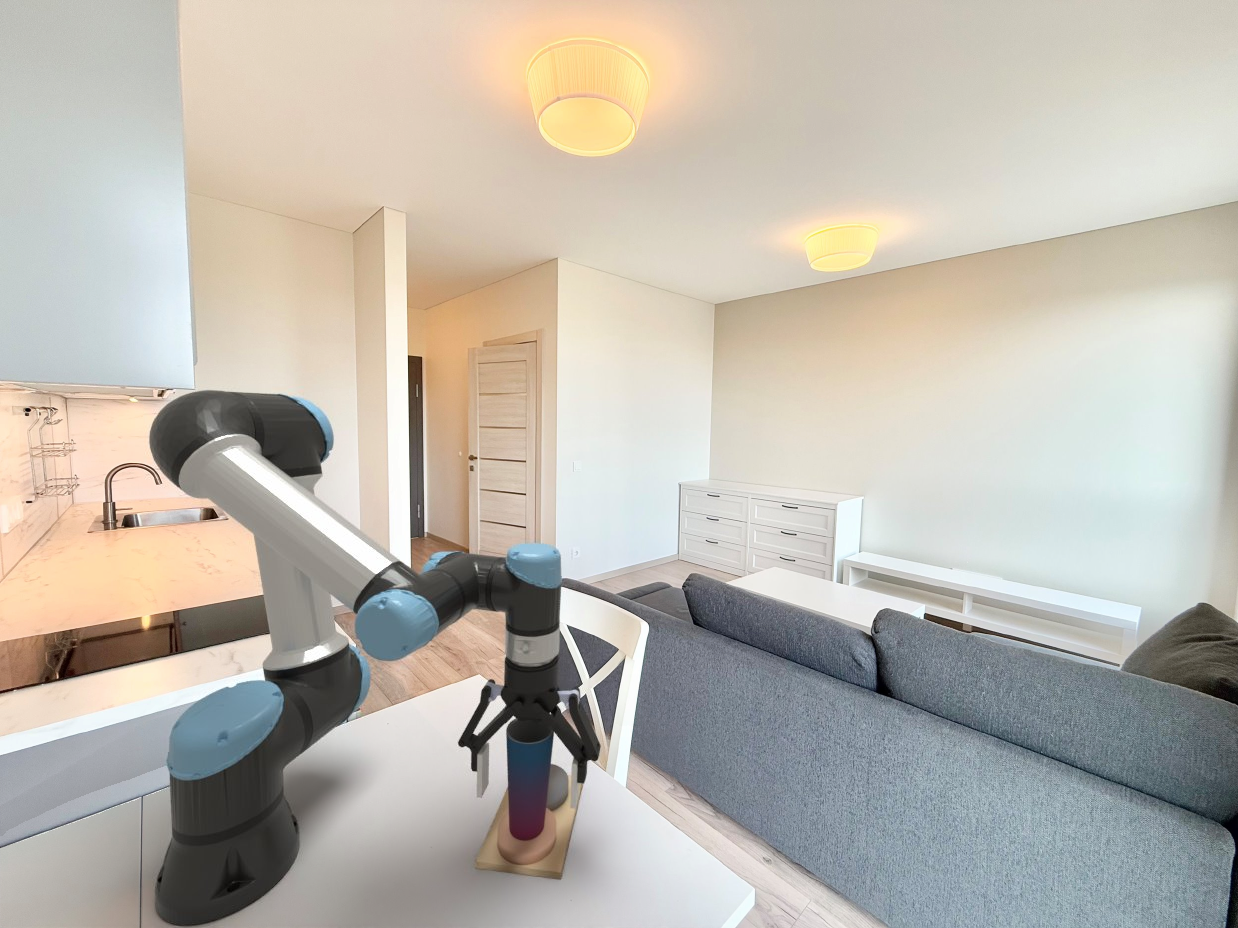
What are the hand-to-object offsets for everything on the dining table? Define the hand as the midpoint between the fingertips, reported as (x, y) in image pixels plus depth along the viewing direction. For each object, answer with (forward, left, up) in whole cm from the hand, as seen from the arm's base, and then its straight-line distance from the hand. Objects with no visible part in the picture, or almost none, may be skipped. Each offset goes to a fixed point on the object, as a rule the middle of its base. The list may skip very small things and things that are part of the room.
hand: (528, 795), depth 71 cm
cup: (0, 0, -5) cm, 5 cm away
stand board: (0, +4, -8) cm, 9 cm away
